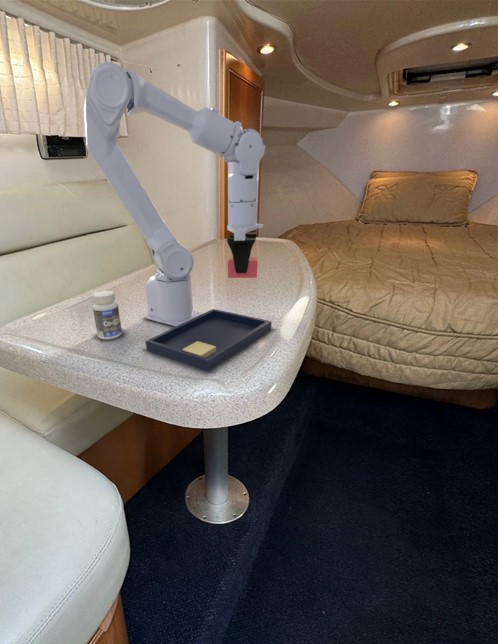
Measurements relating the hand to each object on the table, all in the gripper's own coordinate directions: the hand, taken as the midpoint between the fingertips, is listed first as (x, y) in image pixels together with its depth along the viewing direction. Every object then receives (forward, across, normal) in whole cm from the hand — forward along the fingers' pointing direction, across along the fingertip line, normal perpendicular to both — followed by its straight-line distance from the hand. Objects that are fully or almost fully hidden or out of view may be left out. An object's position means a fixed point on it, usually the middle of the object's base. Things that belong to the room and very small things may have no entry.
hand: (242, 270), depth 77 cm
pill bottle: (+9, -17, +24) cm, 31 cm away
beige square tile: (+8, -25, +5) cm, 26 cm away
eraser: (+1, 0, 0) cm, 1 cm away
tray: (+8, -18, +4) cm, 20 cm away
